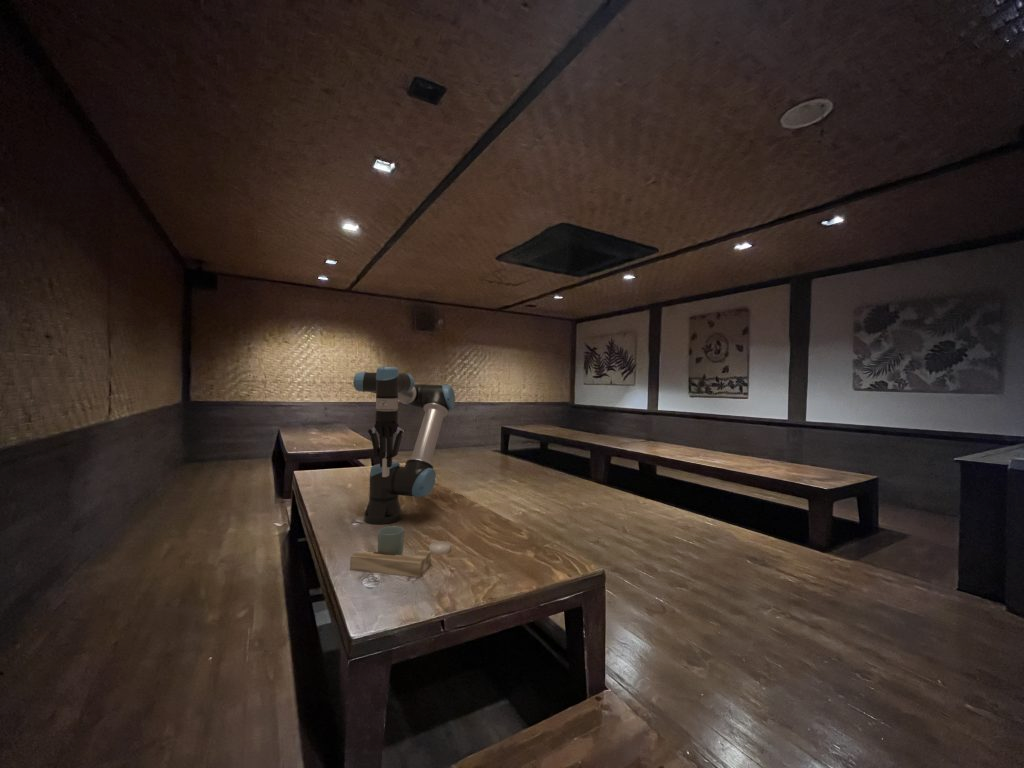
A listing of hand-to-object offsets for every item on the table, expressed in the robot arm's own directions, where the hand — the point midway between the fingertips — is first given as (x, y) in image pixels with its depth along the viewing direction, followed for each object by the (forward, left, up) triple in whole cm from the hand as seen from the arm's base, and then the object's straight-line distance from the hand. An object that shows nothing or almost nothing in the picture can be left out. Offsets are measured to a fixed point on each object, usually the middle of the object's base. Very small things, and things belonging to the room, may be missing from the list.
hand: (385, 476), depth 141 cm
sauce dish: (+2, +22, -24) cm, 32 cm away
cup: (+14, +10, -24) cm, 29 cm away
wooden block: (+18, +12, -24) cm, 31 cm away
